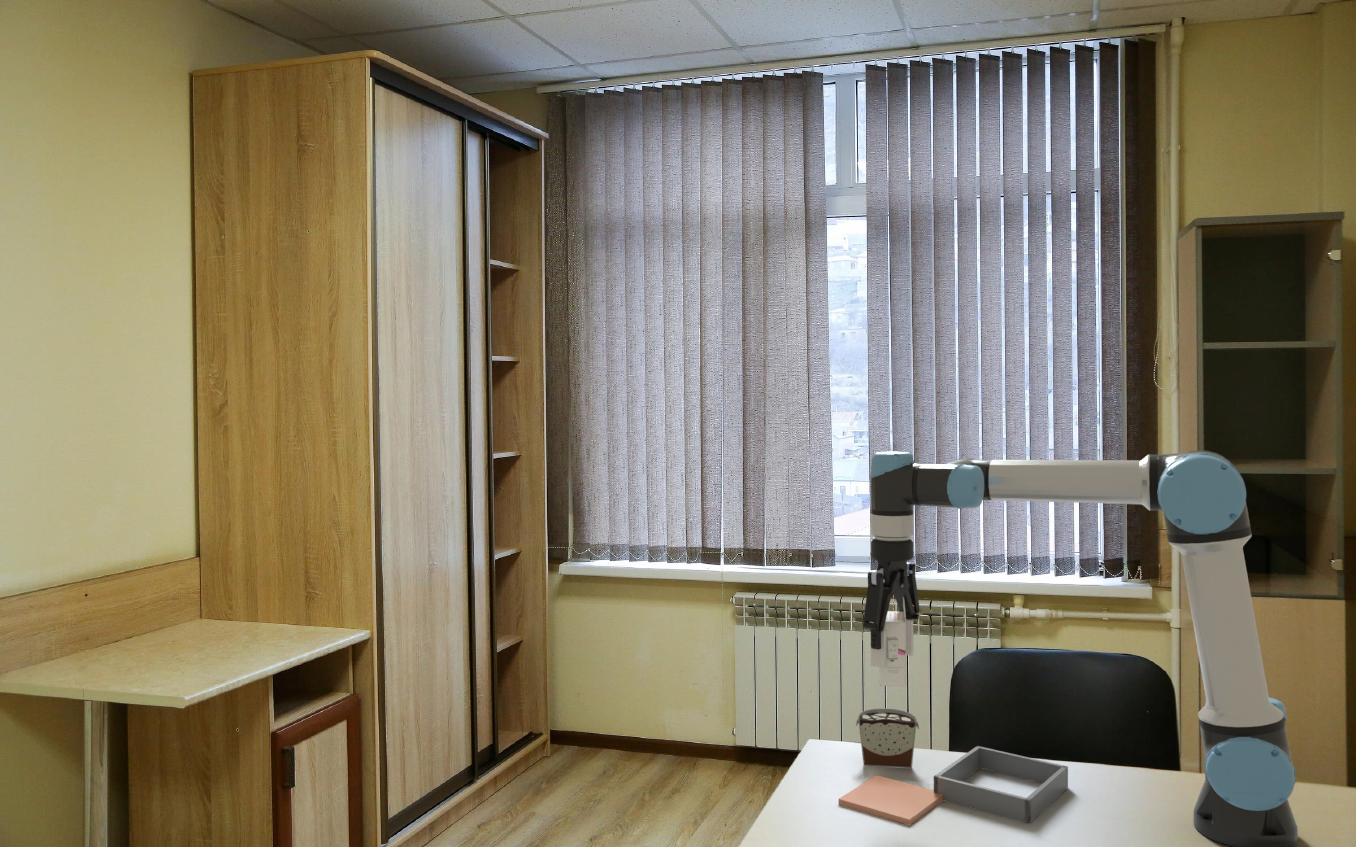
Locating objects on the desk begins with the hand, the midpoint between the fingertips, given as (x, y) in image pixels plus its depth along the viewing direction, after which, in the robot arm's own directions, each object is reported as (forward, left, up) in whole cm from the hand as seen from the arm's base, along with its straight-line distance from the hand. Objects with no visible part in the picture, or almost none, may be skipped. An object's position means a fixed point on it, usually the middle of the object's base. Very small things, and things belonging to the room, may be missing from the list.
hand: (892, 659), depth 178 cm
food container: (+10, -17, -26) cm, 33 cm away
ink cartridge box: (0, 0, -4) cm, 4 cm away
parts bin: (-14, -16, -26) cm, 33 cm away
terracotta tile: (0, 0, -26) cm, 26 cm away
